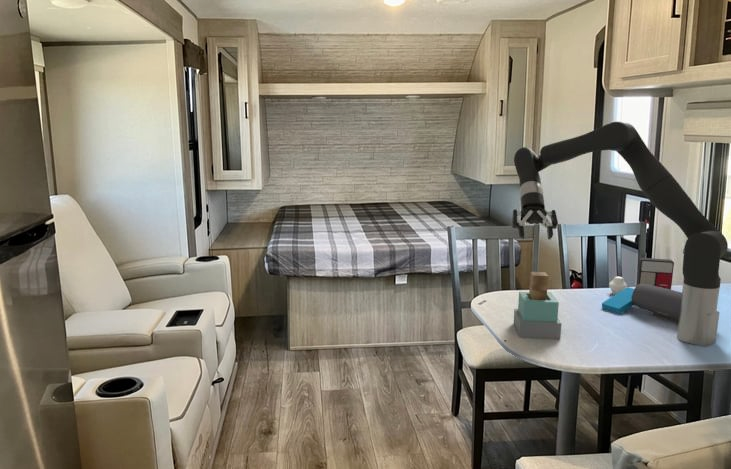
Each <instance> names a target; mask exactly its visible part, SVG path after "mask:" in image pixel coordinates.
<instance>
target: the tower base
mask: <svg viewBox="0 0 731 469" xmlns="http://www.w3.org/2000/svg"><path fill="white" fill-rule="evenodd" d="M559 304H560V303H559V300H557V298H556V296H555V295H554V294H553V293H552V292H548V291H547V300H530V299H529V291H518V304H517V305H518V306H517V308H514V310H513V311H514V312H513V325H514V328H515V330H516V332H517V335H518V337H519V338H523V339H526V338H528V339H544V340H545V339H546V340H547V339H549V340H561V335H562V334H561V333H562V322H561V320H560V319H559V316H558V315H559Z"/></svg>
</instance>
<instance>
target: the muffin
mask: <svg viewBox="0 0 731 469" xmlns="http://www.w3.org/2000/svg"><path fill="white" fill-rule="evenodd" d="M627 287H628V285H627V283H626V282H625V280H624V278H623V277H622V276H614V277H613V280H611V281H610V282H609V288H610V291H611V293H612V294H613V295H616V294H617V293H619V292H620V291H622V290H624V289H625V288H627Z"/></svg>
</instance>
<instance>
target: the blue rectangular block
mask: <svg viewBox="0 0 731 469" xmlns="http://www.w3.org/2000/svg"><path fill="white" fill-rule="evenodd" d="M634 289H635V288H633V287H630V286H627V287H626V288H625V289H624V290H622V291H620V292H619V293H617V294H616V295H615V294H613V295H612V296H611V297H609V298H607V300H605V301H603V302H602V303H601V309H604V310H607V311H609V312H613V313H615V314H618V315H619V314H623V313H625V312H626V311H629V309H631V308H632V307H634V305H633V303H632V294H633V291H634Z"/></svg>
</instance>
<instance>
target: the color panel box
mask: <svg viewBox="0 0 731 469" xmlns="http://www.w3.org/2000/svg"><path fill="white" fill-rule="evenodd" d="M674 266H675V262H674V260H672V259H667V258H651V257H650V258H649V257H639V259H638V266H637V267H638V268H637V269H638V271H637V280H636V286H637V285H638V284H647V285H652V286H657V287H662V288H666V289H670V290H672V283H673V276H674Z"/></svg>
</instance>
